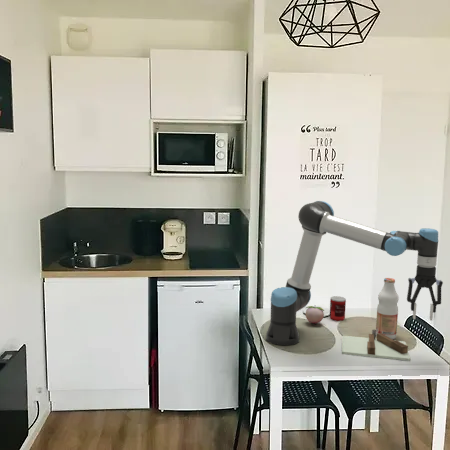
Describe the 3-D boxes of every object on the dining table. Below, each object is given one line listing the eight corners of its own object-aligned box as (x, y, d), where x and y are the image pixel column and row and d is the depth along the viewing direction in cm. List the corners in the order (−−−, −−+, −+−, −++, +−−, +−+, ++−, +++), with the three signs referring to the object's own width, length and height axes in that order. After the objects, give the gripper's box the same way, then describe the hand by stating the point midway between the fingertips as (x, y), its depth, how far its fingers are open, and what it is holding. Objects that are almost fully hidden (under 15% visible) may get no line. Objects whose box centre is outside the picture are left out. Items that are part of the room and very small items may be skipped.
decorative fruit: (304, 326, 258) (305, 307, 256) (304, 321, 266) (305, 302, 264) (324, 327, 256) (324, 308, 255) (323, 322, 264) (324, 303, 263)
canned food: (334, 315, 275) (335, 295, 274) (347, 318, 270) (348, 298, 268) (326, 318, 270) (327, 298, 268) (339, 322, 264) (340, 301, 263)
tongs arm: (401, 353, 222) (402, 347, 221) (376, 339, 238) (376, 333, 237) (407, 352, 223) (407, 346, 223) (381, 339, 239) (382, 332, 238)
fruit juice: (371, 334, 247) (374, 277, 243) (385, 331, 252) (389, 275, 248) (385, 341, 239) (389, 282, 235) (400, 338, 244) (404, 280, 239)
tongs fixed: (367, 354, 222) (368, 344, 221) (366, 337, 240) (366, 328, 240) (377, 355, 221) (378, 345, 220) (375, 338, 240) (375, 329, 239)
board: (341, 353, 224) (342, 351, 224) (342, 337, 243) (342, 335, 243) (410, 360, 218) (410, 358, 218) (405, 343, 237) (405, 341, 237)
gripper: (403, 266, 215) (399, 319, 218) (452, 269, 211) (448, 323, 214) (401, 262, 222) (398, 314, 226) (449, 265, 218) (444, 318, 221)
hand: (422, 318), depth 220 cm, fingers open, 6 cm apart
